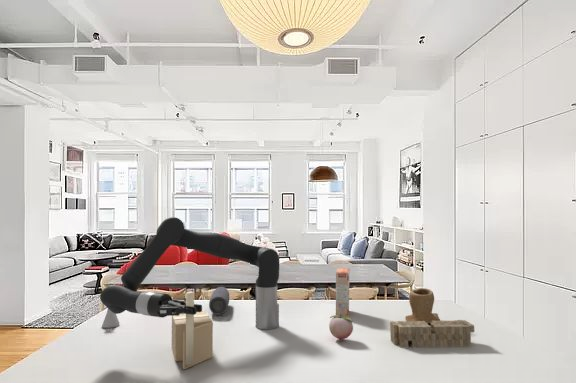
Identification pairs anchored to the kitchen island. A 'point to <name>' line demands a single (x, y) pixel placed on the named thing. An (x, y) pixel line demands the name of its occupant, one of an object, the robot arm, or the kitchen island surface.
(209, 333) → the beige l-shaped piece
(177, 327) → the brown carton
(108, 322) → the flask
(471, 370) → the kitchen island surface
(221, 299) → the bluetooth speaker
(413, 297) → the stone cup
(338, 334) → the decorative fruit
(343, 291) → the cracker box
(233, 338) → the kitchen island surface
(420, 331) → the block tower
